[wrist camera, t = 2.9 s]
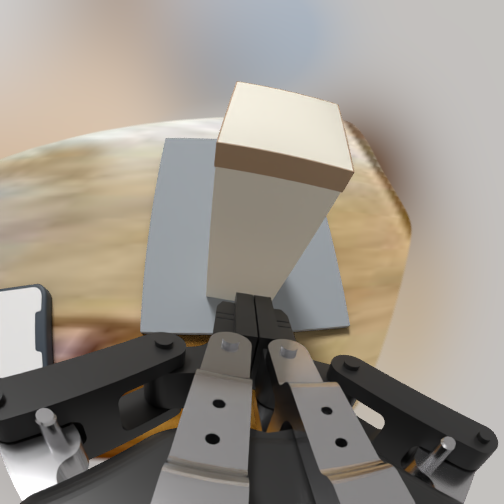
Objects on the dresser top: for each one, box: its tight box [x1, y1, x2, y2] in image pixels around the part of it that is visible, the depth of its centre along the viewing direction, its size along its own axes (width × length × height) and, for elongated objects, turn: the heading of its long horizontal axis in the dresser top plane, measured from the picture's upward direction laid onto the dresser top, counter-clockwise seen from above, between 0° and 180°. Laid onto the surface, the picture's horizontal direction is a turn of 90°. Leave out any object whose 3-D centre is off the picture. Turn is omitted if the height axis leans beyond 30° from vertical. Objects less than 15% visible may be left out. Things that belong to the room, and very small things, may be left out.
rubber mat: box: [140, 138, 350, 335], centre depth 27 cm, size 17×22×1 cm
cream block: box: [206, 81, 354, 301], centre depth 17 cm, size 5×5×15 cm
